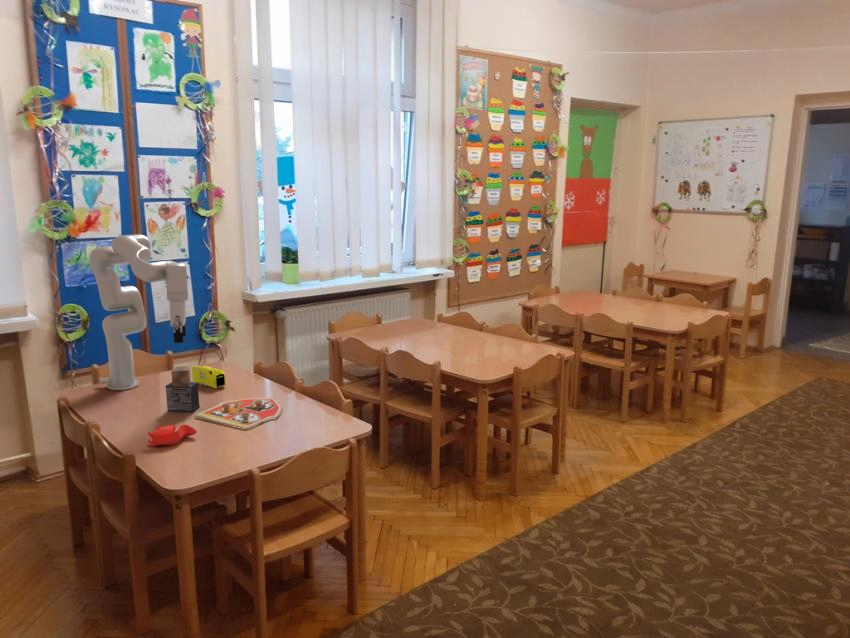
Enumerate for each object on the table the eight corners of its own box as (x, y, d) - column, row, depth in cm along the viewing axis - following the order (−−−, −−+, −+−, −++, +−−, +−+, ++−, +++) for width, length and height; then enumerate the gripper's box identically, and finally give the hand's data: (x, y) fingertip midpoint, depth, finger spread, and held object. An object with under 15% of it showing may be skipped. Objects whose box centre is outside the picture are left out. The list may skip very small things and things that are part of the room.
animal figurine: (201, 440, 228) (200, 426, 227) (158, 451, 218) (157, 437, 217) (186, 430, 236) (185, 417, 235) (144, 441, 226) (143, 427, 225)
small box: (200, 407, 259) (198, 381, 257) (193, 412, 253) (191, 386, 250) (174, 405, 260) (172, 380, 258) (166, 411, 253) (164, 385, 251)
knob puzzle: (191, 418, 248) (190, 407, 247) (246, 396, 274) (245, 385, 273) (250, 433, 235) (250, 421, 234) (302, 407, 260) (302, 397, 259)
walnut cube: (172, 386, 250) (171, 371, 249) (174, 381, 256) (172, 367, 255) (189, 385, 252) (188, 370, 251) (190, 380, 257) (189, 366, 256)
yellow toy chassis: (192, 383, 288) (190, 364, 286) (203, 380, 293) (201, 362, 291) (215, 390, 279) (214, 371, 277) (226, 386, 284) (225, 368, 282)
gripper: (169, 291, 259) (172, 334, 262) (164, 300, 242) (167, 345, 246) (189, 291, 260) (192, 333, 264) (185, 300, 244) (188, 344, 248)
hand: (180, 339), depth 255 cm, fingers open, 9 cm apart
